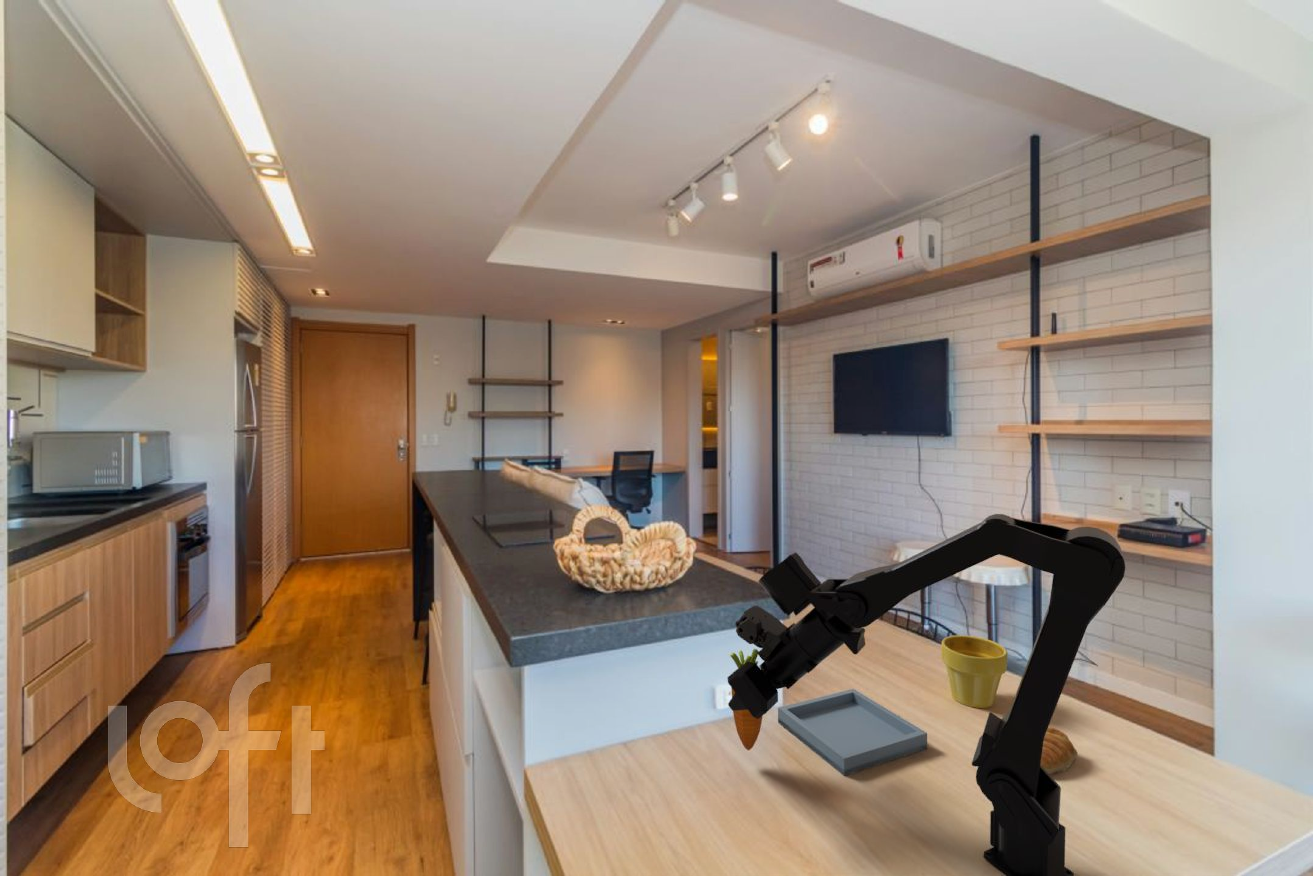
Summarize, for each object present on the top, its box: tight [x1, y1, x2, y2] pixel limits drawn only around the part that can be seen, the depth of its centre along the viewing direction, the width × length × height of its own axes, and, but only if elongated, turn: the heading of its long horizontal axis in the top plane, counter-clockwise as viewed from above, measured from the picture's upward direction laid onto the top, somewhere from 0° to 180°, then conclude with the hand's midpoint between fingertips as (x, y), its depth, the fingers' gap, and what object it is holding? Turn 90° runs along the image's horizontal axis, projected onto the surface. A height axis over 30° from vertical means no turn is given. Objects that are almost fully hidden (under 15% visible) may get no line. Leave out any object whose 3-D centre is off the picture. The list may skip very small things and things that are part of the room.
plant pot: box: [940, 634, 1008, 709], centre depth 106 cm, size 10×10×10 cm
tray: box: [777, 688, 928, 777], centre depth 95 cm, size 16×16×2 cm
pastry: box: [1040, 726, 1078, 776], centre depth 87 cm, size 9×7×4 cm
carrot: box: [729, 648, 763, 751], centre depth 87 cm, size 5×5×15 cm
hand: (739, 700), depth 88 cm, fingers closed on carrot, 5 cm apart
